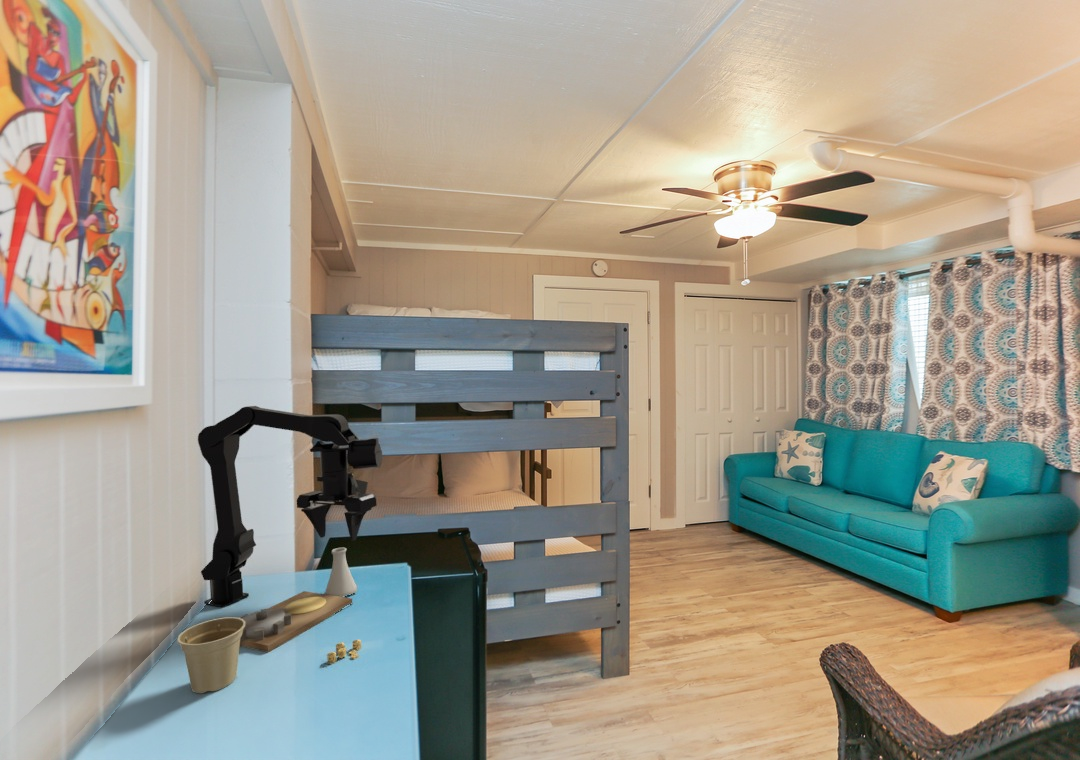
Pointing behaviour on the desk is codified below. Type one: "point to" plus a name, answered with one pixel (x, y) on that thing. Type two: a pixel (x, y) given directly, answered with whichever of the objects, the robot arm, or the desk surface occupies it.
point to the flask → (340, 576)
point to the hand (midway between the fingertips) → (338, 538)
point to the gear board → (298, 621)
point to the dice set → (344, 651)
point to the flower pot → (212, 652)
